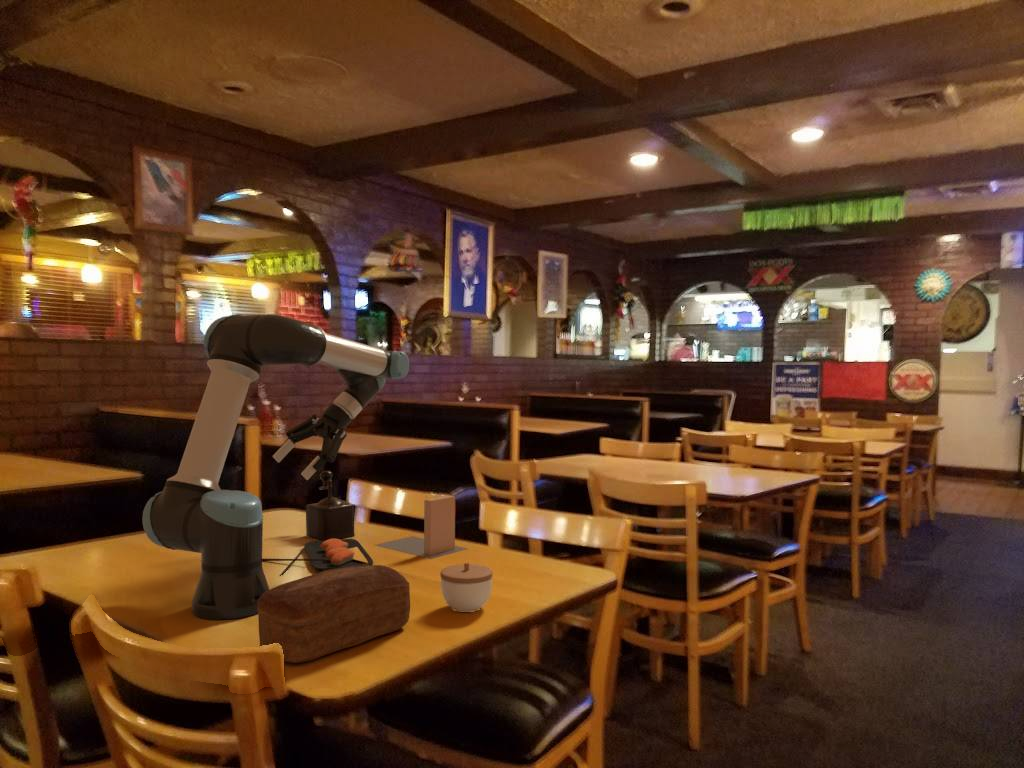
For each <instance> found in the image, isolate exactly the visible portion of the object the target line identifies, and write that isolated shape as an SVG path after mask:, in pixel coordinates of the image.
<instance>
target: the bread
mask: <svg viewBox="0 0 1024 768" xmlns="http://www.w3.org/2000/svg"><path fill="white" fill-rule="evenodd" d="M269 589H270V590H268V591H266V592H265V593H263V594H262V595H261V596H260V598H259V599H258V605H257V610H258V613H257V614H258V638H259V647H260V646H262V645H269V644H273V643H279V644H280V645H281V646H282V649H283V654H284V660H285V661H284V662H285V663H290V664H300V663H305V662H309V661H313V660H316V659H318V658H321V657H324V656H325V655H328V654H329V655H330V654H333V653H334V652H338V651H340V650H343V649H347V648H351V647H354V646H357V645H360V644H363V643H364V642H367V641H369V640H372V639H375V638H377V637H380V636H384V635H386V634H390V633H391V634H392V633H394V632H396V631H398V630H400V629H402V628H403V627H404V626H406V624H408V622H409V619H410V611H411V593H410V592H411V591H410V589H411V588H410V582H409V581H408V580H407V579H406V577H405V576H404V575H402V574H401V572H398V571H397V570H396V569H394V568H392V567H390V566H386V565H382V564H372V565H367V564H365V565H360V566H349V567H343V568H337V569H330V570H322V571H320V572H317V573H315V574H311V575H308V576H305V577H302V578H298V579H295V580H292V581H291V580H290V581H287V582H285V583H283V584H278V585H277V586H275V587H272V588H269Z"/></svg>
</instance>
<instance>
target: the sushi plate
mask: <svg viewBox="0 0 1024 768" xmlns="http://www.w3.org/2000/svg"><path fill="white" fill-rule="evenodd" d="M353 548H357V549H358V550H359V551H360V553H361V554H362V555H363V557H364V558H365V560H366V561H367V562H365V561H362V560H358V559H355V558H354V555H355V553H356V552H354V551H353V550H349V549H353ZM303 551H306V554H307V556H308V558H299V556H300V555H301V554H302V553H303ZM295 556H296V557H294V558H262V562H284V561H286V562H289V561H291V562H290V563H289V564H288V565H287V566H286V568H285V569H284V570H283V571H282V572H281V573H280V574H279V576H281V575H282V576H284V575H285V574H286V573H287V572H288V571H289V569H290V568H291V567H292V566H293V564H294V563H295V562H297V561H300V562H301V561H306V562H307V561H310V563H311V565H312V567H313V569H315V570H318V571H326V570H330V569H337V568H343V567H349V566H360V565H365V564H367V565H374V561H373V559H372V557H371V556H370V554H369V553H368V552H367V551H366V549H365V548H364V546H362V545H361V543H360V542H359V541H358V540H357V539H355V538H354V539H353V538H343V539H329V540H325V541H320V540H315V541H308V542H305V543H304V544H303V548H302V549H301V550H300V552H298V554H297V555H295ZM287 570H288V571H287ZM286 571H287V572H286ZM285 572H286V573H285ZM284 573H285V574H284ZM282 576H281V577H282Z"/></svg>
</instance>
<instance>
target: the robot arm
mask: <svg viewBox="0 0 1024 768" xmlns="http://www.w3.org/2000/svg"><path fill="white" fill-rule="evenodd" d="M203 347H204V348H205V350H204V353H205V355H206V357H207V362H206V365H207V366H208V368H209V371H210V374H209V379H208V382H207V384H206V387H205V391H204V393H203V396H202V399H201V402H200V404H199V407H198V411H197V414H196V416H195V420H194V423H193V425H192V429H191V432H190V434H189V437H188V440H187V443H186V447H185V449H184V452H183V455H182V457H181V461H180V465H179V467H178V470H177V473H175V475H173V476H171V477H169V478H167V479H166V481H165V484H164V487H163V490H161V491H159V492H157V493H155V494H154V495H153V496H151V497H150V498H149V500H148V501H147V502H146V504H145V506H144V508H143V511H142V527H143V530H144V532H145V534H146V537H147V538H148V539H149V540H150V541H151V542H152V544H153V543H154V545H156V546H159V547H162V548H163V547H164V548H166V549H167V550H169V549H170V550H173V551H175V550H176V551H178V550H179V551H185V552H193V553H198V554H201V560H200V561H201V570H200V571H201V573H200V576H199V580H198V582H197V585H196V588H195V590H194V591H195V592H194V594H193V597H192V601H191V613H192V614H193V615H194V616H196V617H198V618H201V619H207V620H231V619H240V618H245V617H250V616H254V615H257V614H258V610H257V605H258V599H259V598H260V596H261V595H262V594H263V593H265V592H266V591H268V590H270V589H271V588H270V587H269V584H268V581H267V578H266V575H265V572H264V569H263V561H262V559H263V529H264V528H263V523H264V513H263V506H262V501H261V499H260V498H259V497H258V496H257V495H255V494H253V493H250V492H248V491H243V490H238V489H236V490H230V489H221V487H220V486H219V482H220V478H221V474H222V473H223V469H224V466H225V462H226V459H227V457H228V453H229V450H230V447H231V444H232V441H233V438H234V435H235V432H236V428H237V424H238V422H239V419H240V415H241V412H242V410H243V406H244V402H245V399H246V397H247V394H248V390H249V387H250V384H251V383H254V382H256V381H257V380H259V378H260V376H261V373H262V369H263V367H266V366H283V365H284V366H286V365H301V366H307V367H309V366H310V367H311V366H314V365H316V364H318V365H323V366H325V367H326V366H327V367H332V368H334V370H335V371H336V372H337V374H338V375H339V376H340V377H341V379H342V380H343V382H344V383H345V385H347V386H346V387H345V389H344V390H343V391H342V392H341V393H340V394H339V395H338V396H337V397H336V398H335V399H334V400H333V403H331V404H330V405H329V406H328V407H327V408H326V409H325V410H324V411H323V415H322V417H320V418H319V417H318V416H317V415H316V414H313V415H312V416H310V417H309V418H308V419H307V420H305V421H304V422H301V423H300V424H298V425H296V426H295V427H292V428H291V429H289V430H288V431H286V432H285V435H286V437H287V439H286V440H285V441H284V442H283V443H282V444H281V445H280V447H279V449H278V450H277V451H276V452H275V453H274V454H273V455H272V458H273V459H274V460H275V461H276V462H277V463H280V462H281V461H283V459H284V458H285V457H286V456H287V455H288V453H290V452H291V451H292V449H294V447H296V443H299V442H301V441H304V440H306V439H310V438H311V437H319V438H322V445H321V450H320V454H319V455H317V456H316V457H314V459H312V461H311V462H310V463H309V464H308V465H307V466H306V467H305V468H304V470H303V471H302V472H301V473H300V474H301V476H302V477H303V478H304V480H306V481H308V480H309V479H311V478H312V476H314V474H315V473H316V472H318V471H319V470H320V469H321V468H323V466H324V465H325V464H326V463H331V464H333V463H334V462H335V461H336V458H337V455H338V453H339V452H340V448H341V446H342V444H343V441H344V440H345V438H347V435H348V434H347V433H346V431H345V429H346V428H347V427H348V425H350V424H351V423H352V420H354V419H355V418H356V417H357V416H358V415H359V414H360V412H362V411H363V409H364V408H365V407H366V406H367V405H368V404H369V403H370V402H371V401H372V400H373V399H374V398H375V396H377V395H379V393H380V391H381V389H383V387H384V386H385V384H386V381H387V379H388V380H396V379H397V380H400V379H404V378H405V377H406V376H407V375H408V373H409V371H410V370H409V369H410V359H409V356H408V355H407V353H405V352H404V351H402V350H386V349H383V348H378V347H375V346H372V345H368V344H365V343H362V342H357V341H354V340H351V339H347V338H343V337H341V336H337V335H333V334H330V333H326V332H325V331H324V329H322V327H320V326H317V325H314V324H311V323H308V322H305V321H301V320H299V319H295V318H292V317H288V316H285V315H281V314H280V315H279V314H272V313H269V314H268V313H267V314H230V315H228V316H227V315H225V316H221V317H219V318H217V319H216V320H214V321H213V322H211V324H210V325H209V326H208V328H206V331H205V334H204V336H203Z"/></svg>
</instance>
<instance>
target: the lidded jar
mask: <svg viewBox="0 0 1024 768" xmlns="http://www.w3.org/2000/svg"><path fill="white" fill-rule="evenodd" d="M463 563H464V564H463ZM463 563H462V564H453V565H449V566H447V567H444V568H442V569H441V570H440V586H441V593H442V597H443V599H444V601H445V602H446V604H447V605H448V606H449V607H451V608H450V609H451V610H452V609H454V610H456V611H460V612H471V611H476V610H478V609H480V608H481V609H482V607H483V606H484V605H485V604H486V603H487V602H488V600H489V598H490V597H491V591H492V587H493V585H492V583H493V576H494V575H493V570H492V568H490V567H489V566H484V565H480V564H472V563H469V562H463ZM481 609H480V610H481Z"/></svg>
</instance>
